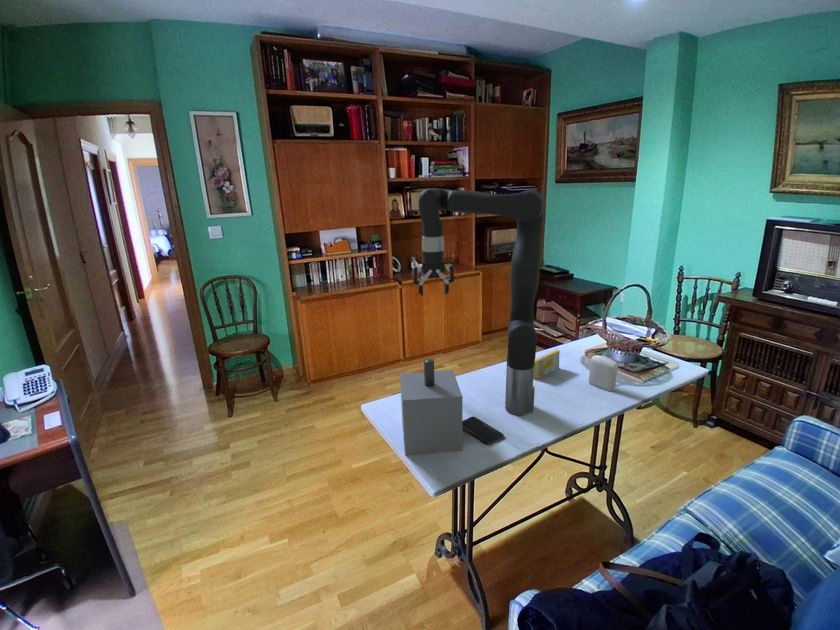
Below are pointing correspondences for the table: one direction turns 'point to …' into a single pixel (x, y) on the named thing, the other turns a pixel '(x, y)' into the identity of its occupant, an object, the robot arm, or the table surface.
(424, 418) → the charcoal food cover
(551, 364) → the candy box
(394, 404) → the table surface
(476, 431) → the black smartphone
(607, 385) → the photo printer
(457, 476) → the table surface
